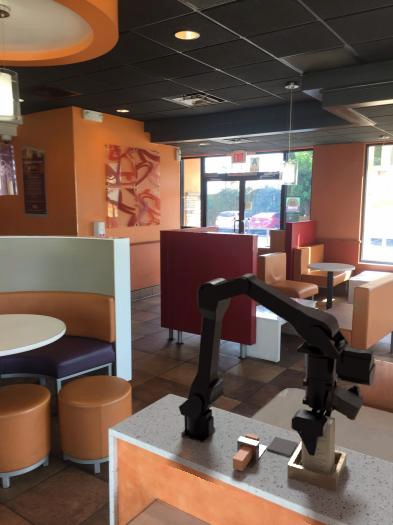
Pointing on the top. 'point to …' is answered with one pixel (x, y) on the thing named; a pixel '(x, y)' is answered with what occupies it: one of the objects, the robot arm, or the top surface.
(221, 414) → the top surface
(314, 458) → the skincare box
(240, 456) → the lock bar
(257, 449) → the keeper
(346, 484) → the top surface
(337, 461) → the open wooden box
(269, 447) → the coaster
